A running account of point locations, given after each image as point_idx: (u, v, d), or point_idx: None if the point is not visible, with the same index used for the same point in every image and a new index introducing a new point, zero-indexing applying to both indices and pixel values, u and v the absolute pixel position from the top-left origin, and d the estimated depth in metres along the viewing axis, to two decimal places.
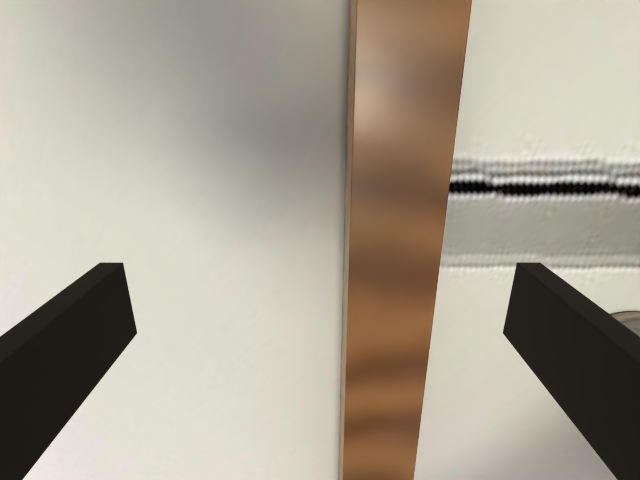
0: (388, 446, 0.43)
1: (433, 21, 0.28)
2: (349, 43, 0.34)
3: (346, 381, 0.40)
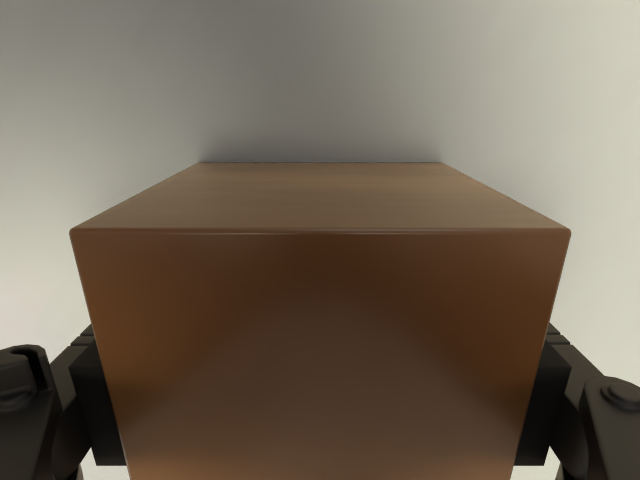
0: None
1: None
2: None
3: None
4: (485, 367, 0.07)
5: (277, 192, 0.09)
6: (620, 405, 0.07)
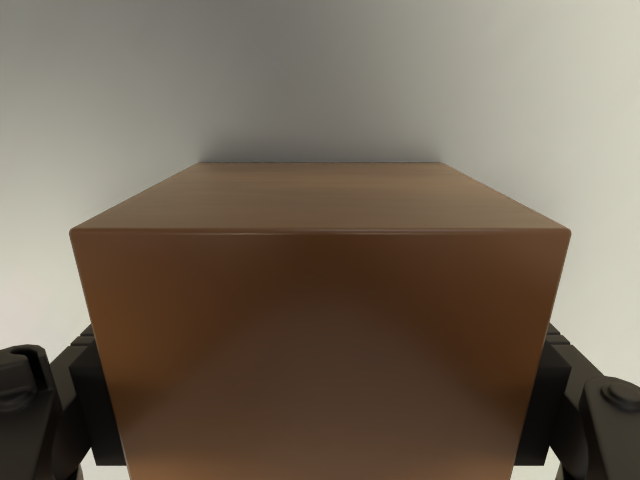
0: None
1: None
2: None
3: None
4: (485, 367, 0.07)
5: (277, 192, 0.09)
6: (621, 405, 0.07)
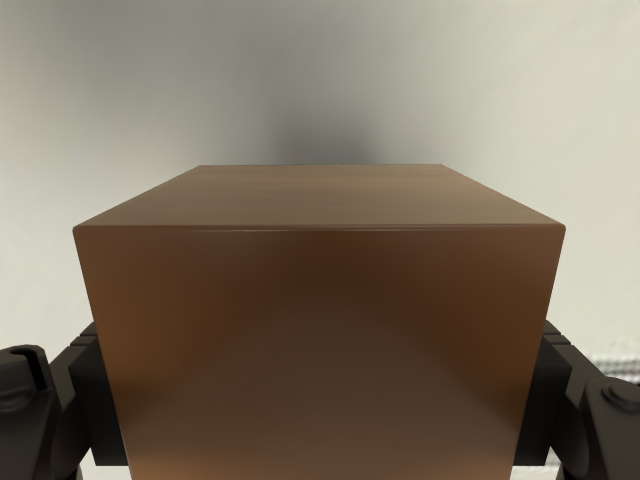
0: None
1: None
2: None
3: None
4: (483, 364, 0.07)
5: (277, 192, 0.09)
6: (621, 405, 0.07)
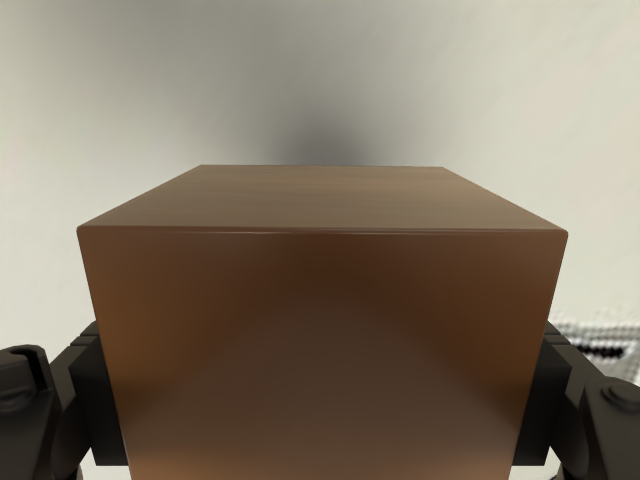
0: None
1: None
2: None
3: None
4: (483, 367, 0.07)
5: (280, 193, 0.09)
6: (621, 406, 0.07)
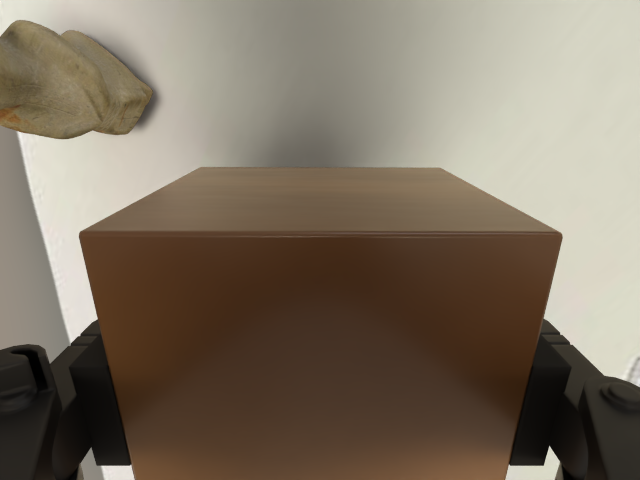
0: None
1: None
2: None
3: None
4: (480, 367, 0.08)
5: (279, 196, 0.09)
6: (621, 405, 0.07)
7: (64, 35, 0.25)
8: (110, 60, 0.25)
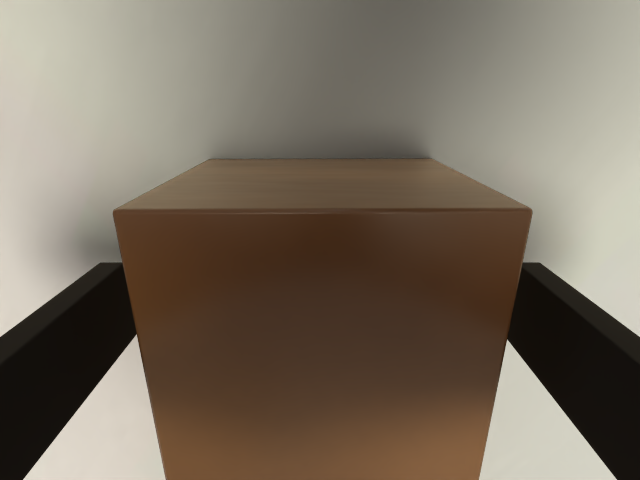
0: None
1: (382, 442, 0.10)
2: None
3: None
4: (464, 329, 0.09)
5: (284, 182, 0.10)
6: None
7: None
8: None
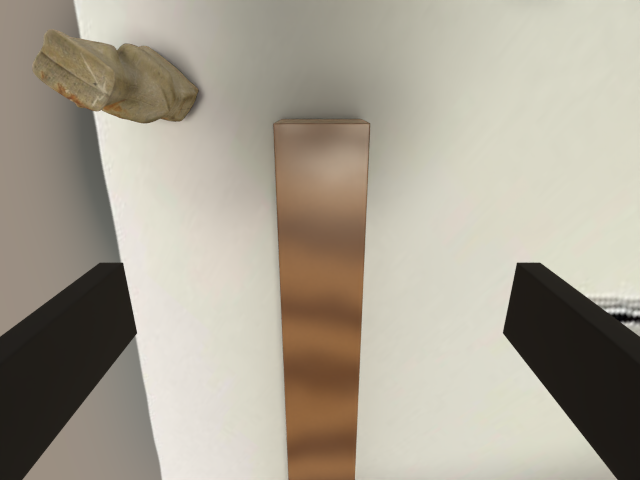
0: None
1: (338, 192, 0.35)
2: None
3: (288, 456, 0.47)
4: (357, 155, 0.34)
5: (311, 121, 0.36)
6: None
7: None
8: (172, 67, 0.34)
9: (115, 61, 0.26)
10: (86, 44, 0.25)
